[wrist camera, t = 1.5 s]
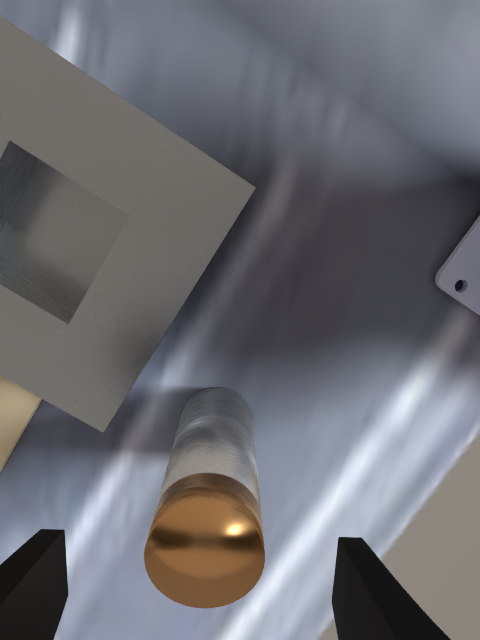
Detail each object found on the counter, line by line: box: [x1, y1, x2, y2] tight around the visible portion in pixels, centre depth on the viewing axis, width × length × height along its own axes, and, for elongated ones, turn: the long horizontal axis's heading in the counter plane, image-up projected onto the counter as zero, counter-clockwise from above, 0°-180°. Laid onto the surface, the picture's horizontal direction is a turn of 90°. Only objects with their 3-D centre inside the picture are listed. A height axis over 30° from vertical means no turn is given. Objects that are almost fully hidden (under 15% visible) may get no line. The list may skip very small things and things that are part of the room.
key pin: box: [144, 388, 265, 608], centre depth 15 cm, size 3×3×8 cm
